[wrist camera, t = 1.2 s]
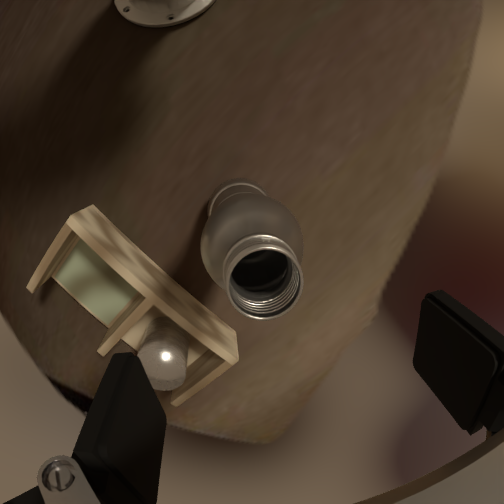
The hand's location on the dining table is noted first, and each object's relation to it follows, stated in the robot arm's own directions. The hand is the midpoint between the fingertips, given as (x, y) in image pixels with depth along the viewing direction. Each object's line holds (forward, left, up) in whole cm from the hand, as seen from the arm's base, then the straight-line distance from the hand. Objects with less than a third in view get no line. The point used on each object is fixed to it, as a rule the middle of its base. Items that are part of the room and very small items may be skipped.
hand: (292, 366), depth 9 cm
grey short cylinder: (+13, -11, -24) cm, 30 cm away
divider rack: (+9, -14, -25) cm, 30 cm away
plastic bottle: (0, 0, -25) cm, 25 cm away
